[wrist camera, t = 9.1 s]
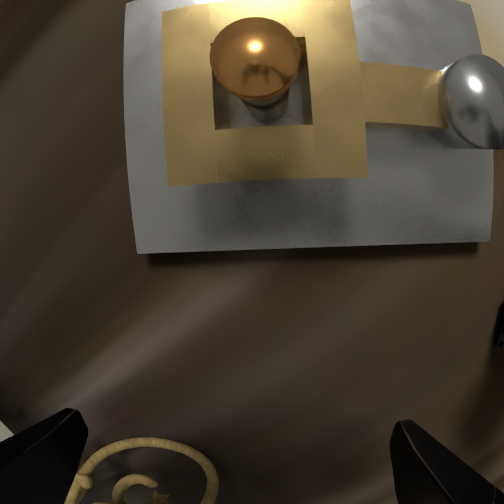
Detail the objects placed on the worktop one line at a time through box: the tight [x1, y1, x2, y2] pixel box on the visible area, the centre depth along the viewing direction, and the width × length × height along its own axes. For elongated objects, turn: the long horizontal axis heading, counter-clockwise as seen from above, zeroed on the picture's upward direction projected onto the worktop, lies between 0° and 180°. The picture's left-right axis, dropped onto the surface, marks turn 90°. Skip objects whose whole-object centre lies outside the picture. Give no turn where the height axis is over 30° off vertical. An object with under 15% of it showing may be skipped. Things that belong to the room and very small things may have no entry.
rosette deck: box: [124, 0, 504, 254], centre depth 14 cm, size 22×16×6 cm
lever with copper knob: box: [210, 17, 300, 120], centre depth 12 cm, size 3×3×8 cm
